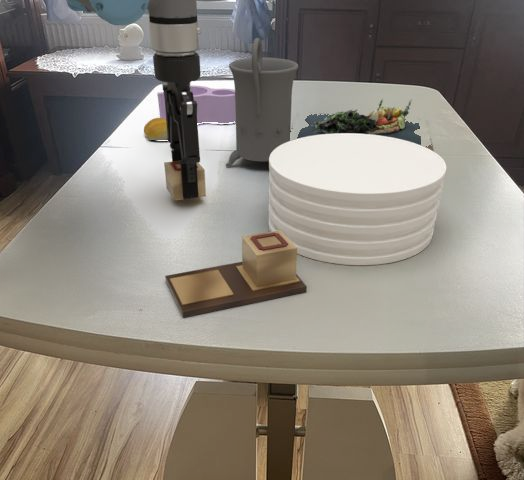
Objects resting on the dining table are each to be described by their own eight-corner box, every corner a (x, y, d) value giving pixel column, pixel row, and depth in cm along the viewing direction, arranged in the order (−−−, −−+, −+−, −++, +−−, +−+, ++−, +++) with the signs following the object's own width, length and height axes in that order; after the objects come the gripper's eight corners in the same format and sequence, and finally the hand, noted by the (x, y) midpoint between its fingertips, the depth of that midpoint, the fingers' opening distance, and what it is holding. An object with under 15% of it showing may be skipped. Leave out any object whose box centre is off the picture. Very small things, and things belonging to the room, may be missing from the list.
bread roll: (150, 144, 130) (148, 126, 127) (141, 133, 136) (139, 116, 134) (184, 140, 132) (182, 122, 130) (174, 129, 139) (172, 113, 136)
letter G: (174, 200, 100) (171, 172, 96) (166, 188, 104) (163, 161, 101) (205, 196, 101) (204, 168, 98) (197, 184, 106) (195, 157, 102)
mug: (238, 148, 127) (234, 24, 112) (301, 152, 125) (306, 26, 110) (219, 177, 113) (212, 39, 97) (290, 182, 111) (294, 42, 95)
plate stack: (263, 195, 105) (263, 134, 98) (407, 192, 106) (417, 131, 99) (274, 268, 83) (276, 195, 76) (455, 263, 84) (473, 191, 77)
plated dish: (426, 118, 147) (431, 89, 143) (435, 154, 126) (442, 121, 121) (297, 114, 152) (297, 85, 147) (284, 148, 130) (284, 115, 125)
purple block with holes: (241, 114, 150) (241, 87, 145) (232, 128, 140) (231, 99, 136) (171, 111, 152) (168, 84, 148) (157, 124, 142) (153, 95, 138)
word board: (183, 318, 73) (182, 310, 72) (165, 281, 80) (164, 274, 79) (306, 292, 78) (306, 284, 77) (279, 260, 85) (279, 253, 84)
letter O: (256, 287, 76) (256, 253, 73) (242, 267, 81) (241, 235, 78) (296, 279, 78) (297, 246, 75) (279, 260, 83) (280, 228, 79)
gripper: (215, 61, 82) (220, 207, 97) (183, 41, 96) (192, 171, 111) (166, 64, 80) (179, 213, 94) (141, 43, 94) (155, 176, 108)
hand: (186, 190), depth 102 cm, fingers closed on letter G, 6 cm apart
